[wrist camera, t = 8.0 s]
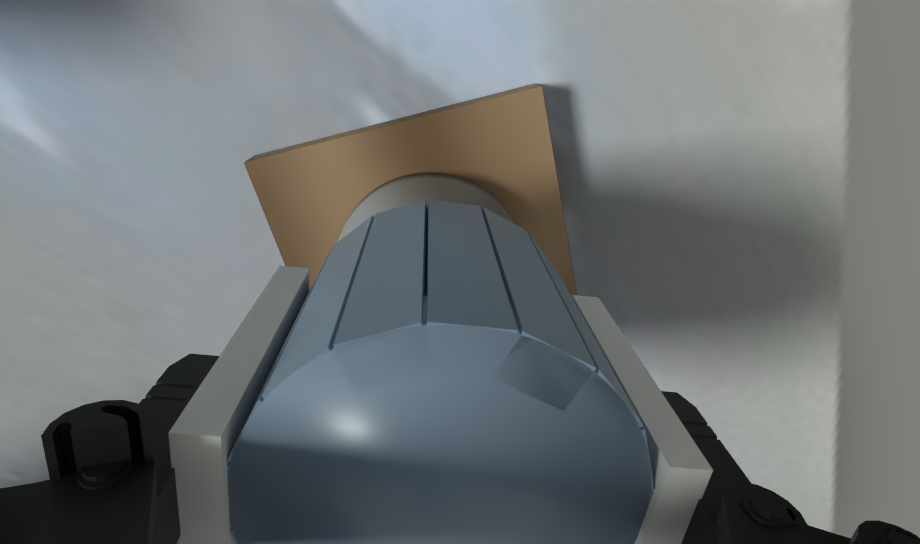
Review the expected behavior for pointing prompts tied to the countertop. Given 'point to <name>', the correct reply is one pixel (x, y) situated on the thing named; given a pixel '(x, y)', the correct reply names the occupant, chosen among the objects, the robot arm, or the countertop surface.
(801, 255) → the countertop surface
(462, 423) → the cap
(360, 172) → the wooden square stand
